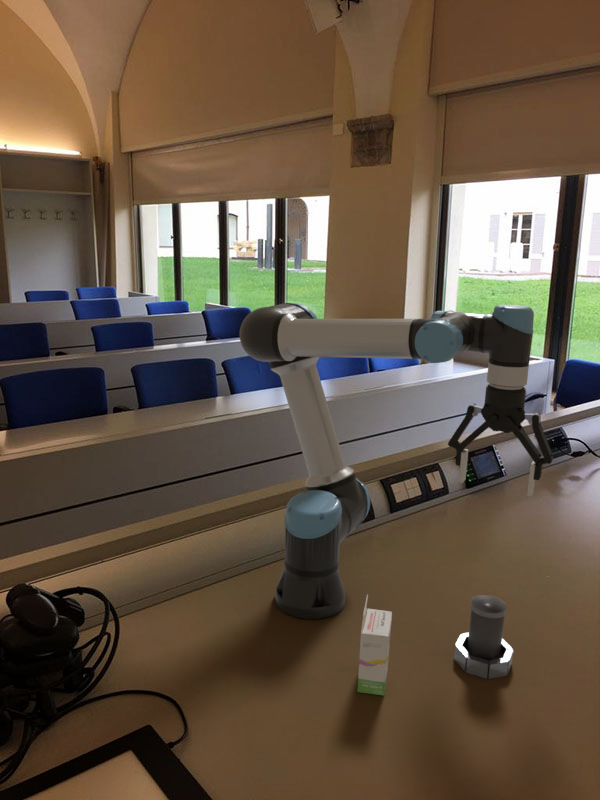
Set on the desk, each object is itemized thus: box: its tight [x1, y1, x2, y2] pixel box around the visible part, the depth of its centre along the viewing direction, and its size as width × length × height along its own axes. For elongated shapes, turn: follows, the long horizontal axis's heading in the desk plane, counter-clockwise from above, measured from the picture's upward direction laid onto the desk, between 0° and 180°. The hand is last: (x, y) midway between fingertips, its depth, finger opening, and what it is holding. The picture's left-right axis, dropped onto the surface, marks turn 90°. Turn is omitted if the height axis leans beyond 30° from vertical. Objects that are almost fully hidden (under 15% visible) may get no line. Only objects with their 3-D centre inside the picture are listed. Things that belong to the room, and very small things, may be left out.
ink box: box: [357, 594, 393, 696], centre depth 120 cm, size 9×5×15 cm, turn 168°
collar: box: [453, 632, 514, 680], centre depth 127 cm, size 10×10×3 cm
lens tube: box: [467, 594, 508, 660], centre depth 126 cm, size 6×6×12 cm
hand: (495, 487), depth 137 cm, fingers open, 13 cm apart
